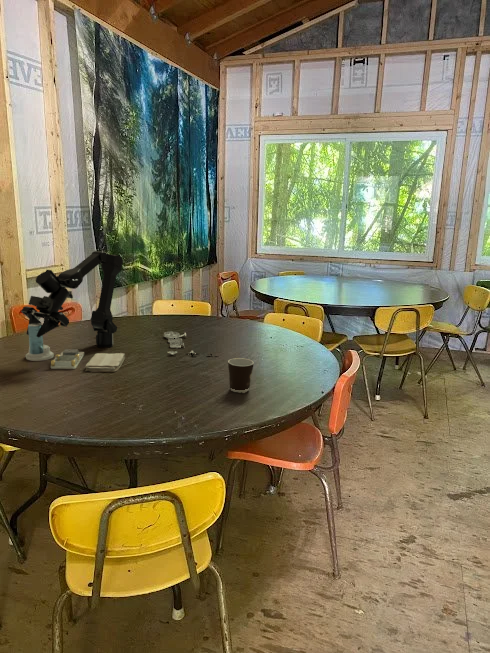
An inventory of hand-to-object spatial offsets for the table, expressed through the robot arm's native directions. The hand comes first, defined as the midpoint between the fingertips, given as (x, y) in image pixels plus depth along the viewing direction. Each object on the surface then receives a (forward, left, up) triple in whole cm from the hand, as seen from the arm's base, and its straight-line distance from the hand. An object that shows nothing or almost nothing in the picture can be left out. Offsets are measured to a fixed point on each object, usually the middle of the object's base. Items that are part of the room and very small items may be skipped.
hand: (32, 335), depth 164 cm
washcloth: (-24, -5, -13) cm, 28 cm away
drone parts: (-58, -31, -13) cm, 67 cm away
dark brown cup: (-73, +22, -12) cm, 77 cm away
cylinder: (-1, -1, -7) cm, 7 cm away
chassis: (-10, -8, -12) cm, 18 cm away
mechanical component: (+2, -13, -13) cm, 19 cm away
